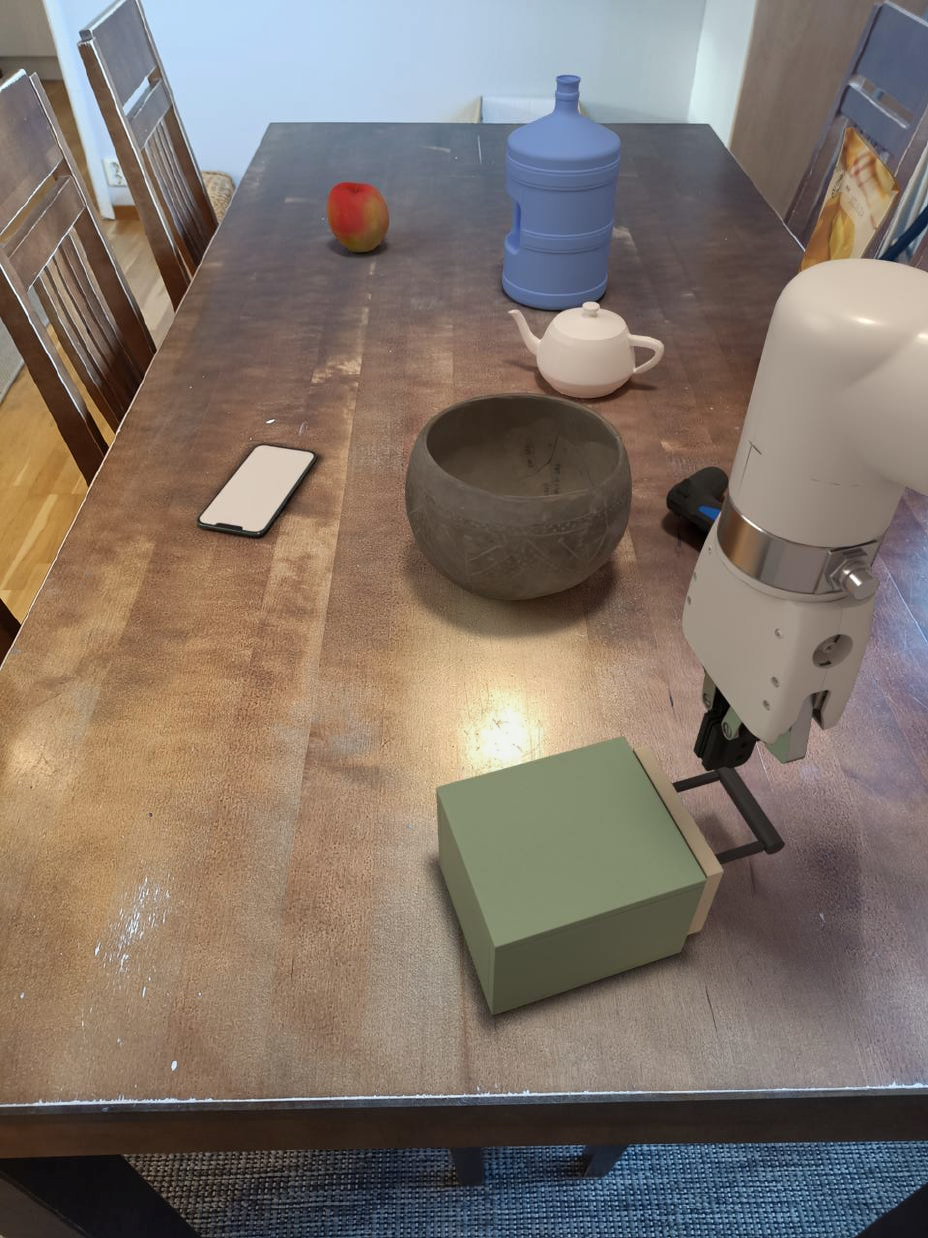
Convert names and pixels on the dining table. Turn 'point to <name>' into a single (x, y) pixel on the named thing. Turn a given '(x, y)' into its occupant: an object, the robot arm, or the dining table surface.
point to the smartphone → (257, 490)
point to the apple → (357, 215)
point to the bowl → (518, 494)
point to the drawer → (692, 834)
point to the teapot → (587, 351)
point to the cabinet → (564, 872)
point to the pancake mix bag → (852, 204)
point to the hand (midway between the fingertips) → (720, 756)
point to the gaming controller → (699, 497)
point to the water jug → (560, 205)
